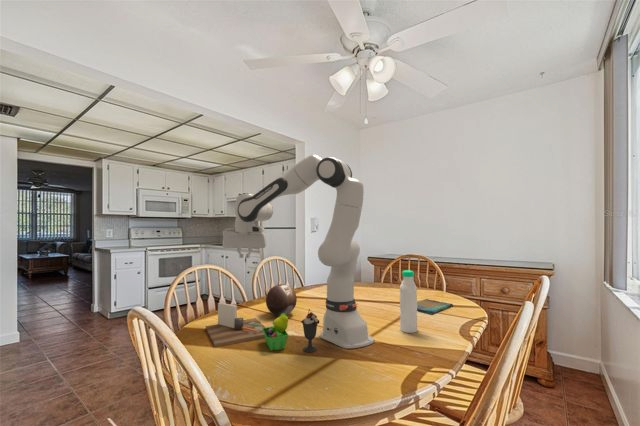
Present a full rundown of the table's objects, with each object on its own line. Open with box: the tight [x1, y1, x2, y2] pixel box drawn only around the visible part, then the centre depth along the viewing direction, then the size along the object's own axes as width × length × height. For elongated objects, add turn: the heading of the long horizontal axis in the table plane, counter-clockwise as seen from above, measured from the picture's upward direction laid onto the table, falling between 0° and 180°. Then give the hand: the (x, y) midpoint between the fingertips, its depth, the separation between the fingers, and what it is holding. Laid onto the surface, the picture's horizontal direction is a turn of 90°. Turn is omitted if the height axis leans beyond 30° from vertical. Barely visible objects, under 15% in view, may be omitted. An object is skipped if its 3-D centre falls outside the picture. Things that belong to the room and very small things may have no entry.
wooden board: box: [205, 318, 266, 348], centre depth 127 cm, size 22×22×1 cm
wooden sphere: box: [265, 283, 297, 317], centre depth 151 cm, size 15×15×15 cm
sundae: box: [300, 308, 320, 353], centre depth 110 cm, size 7×7×15 cm
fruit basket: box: [263, 313, 289, 351], centre depth 115 cm, size 11×9×11 cm
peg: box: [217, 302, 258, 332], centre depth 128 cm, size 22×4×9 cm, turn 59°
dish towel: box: [417, 298, 454, 316], centre depth 164 cm, size 17×23×2 cm
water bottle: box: [399, 269, 419, 334], centre depth 129 cm, size 7×7×25 cm
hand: (244, 257), depth 144 cm, fingers closed
